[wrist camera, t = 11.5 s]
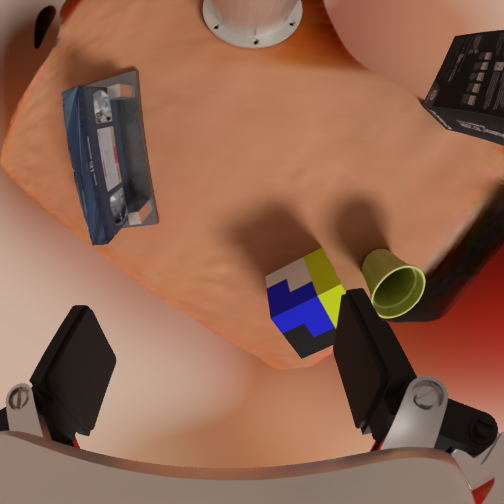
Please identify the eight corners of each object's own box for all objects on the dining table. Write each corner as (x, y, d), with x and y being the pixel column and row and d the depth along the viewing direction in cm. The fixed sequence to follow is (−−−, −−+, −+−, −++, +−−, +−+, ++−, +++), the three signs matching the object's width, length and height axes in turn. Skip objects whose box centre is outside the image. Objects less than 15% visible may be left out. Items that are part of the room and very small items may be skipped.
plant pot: (388, 227, 42) (414, 253, 34) (408, 265, 45) (431, 293, 38) (342, 261, 44) (360, 293, 37) (367, 295, 48) (384, 327, 40)
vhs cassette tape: (135, 213, 38) (108, 245, 29) (117, 215, 38) (87, 247, 29) (119, 86, 29) (82, 82, 21) (100, 91, 29) (60, 90, 21)
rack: (82, 88, 29) (59, 87, 24) (138, 71, 29) (121, 65, 24) (106, 227, 40) (90, 245, 35) (159, 221, 40) (147, 239, 35)
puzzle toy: (265, 276, 45) (270, 318, 36) (321, 246, 43) (341, 283, 34) (292, 316, 49) (301, 358, 41) (343, 291, 47) (362, 330, 38)
